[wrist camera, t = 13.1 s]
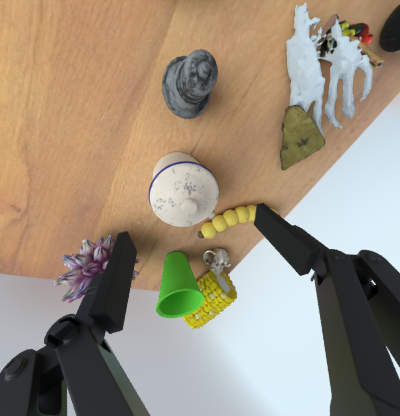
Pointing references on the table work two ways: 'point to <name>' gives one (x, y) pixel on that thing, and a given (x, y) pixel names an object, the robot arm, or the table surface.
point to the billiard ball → (391, 32)
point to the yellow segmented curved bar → (228, 220)
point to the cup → (178, 288)
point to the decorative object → (311, 72)
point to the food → (212, 298)
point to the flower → (86, 267)
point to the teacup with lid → (183, 190)
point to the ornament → (216, 260)
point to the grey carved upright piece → (189, 83)
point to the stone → (299, 136)
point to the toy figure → (354, 33)
